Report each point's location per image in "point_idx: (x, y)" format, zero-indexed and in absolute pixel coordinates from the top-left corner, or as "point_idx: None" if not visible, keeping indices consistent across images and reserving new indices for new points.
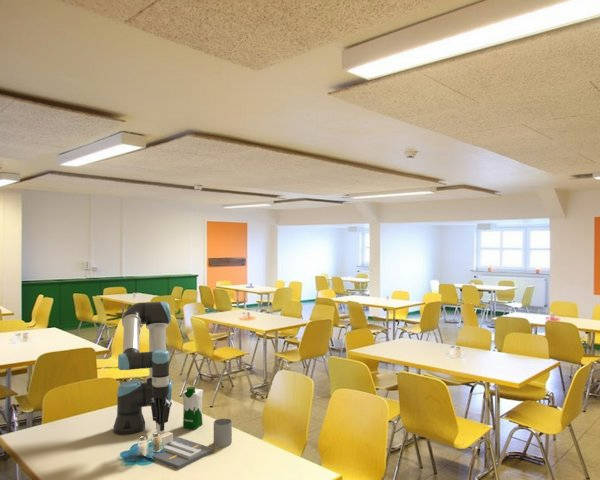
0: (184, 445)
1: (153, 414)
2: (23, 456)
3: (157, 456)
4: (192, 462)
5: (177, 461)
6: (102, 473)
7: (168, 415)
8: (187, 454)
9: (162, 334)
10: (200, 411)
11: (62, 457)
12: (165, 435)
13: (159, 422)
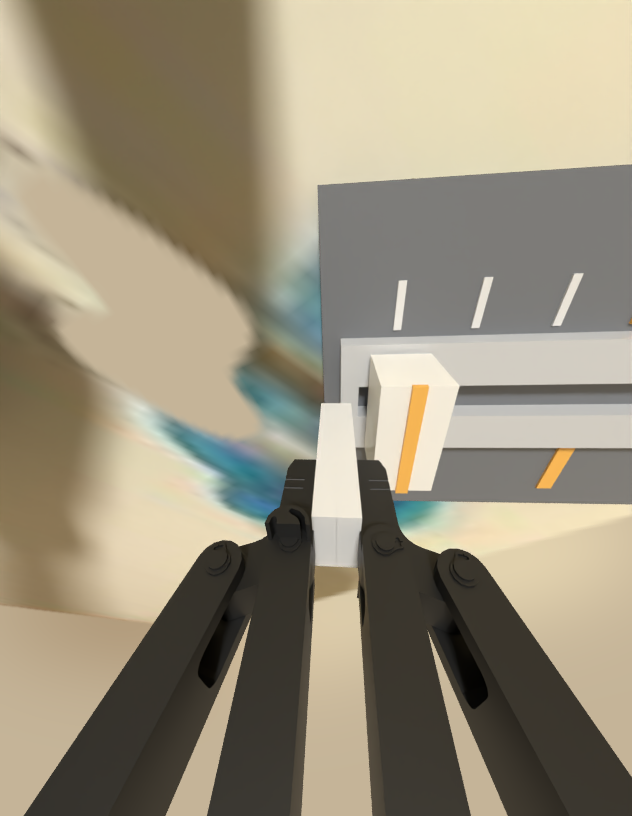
0: (585, 346)
1: (198, 712)
2: (62, 610)
3: (450, 493)
4: None
5: (610, 482)
6: (337, 591)
7: (607, 754)
8: None
9: None
10: None
11: (131, 586)
12: (421, 455)
13: (363, 590)
